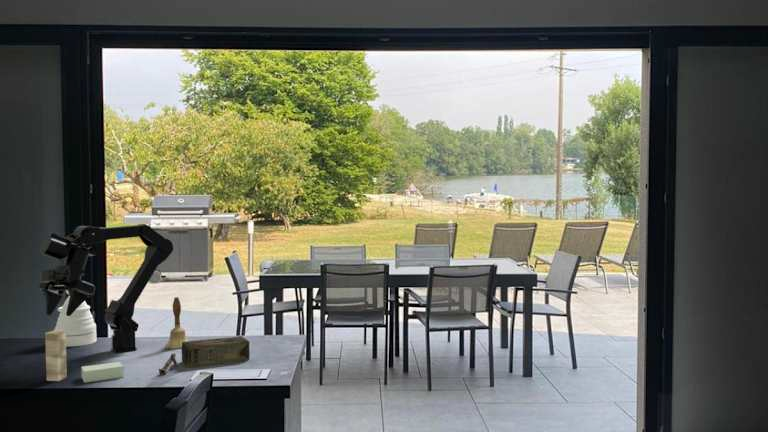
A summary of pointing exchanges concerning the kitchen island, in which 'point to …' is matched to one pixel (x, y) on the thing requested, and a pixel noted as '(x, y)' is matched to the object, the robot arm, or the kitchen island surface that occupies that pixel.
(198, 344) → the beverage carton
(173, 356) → the wooden post with brackets
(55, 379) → the beech post
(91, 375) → the pale green block
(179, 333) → the hand bell
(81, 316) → the honey pot
